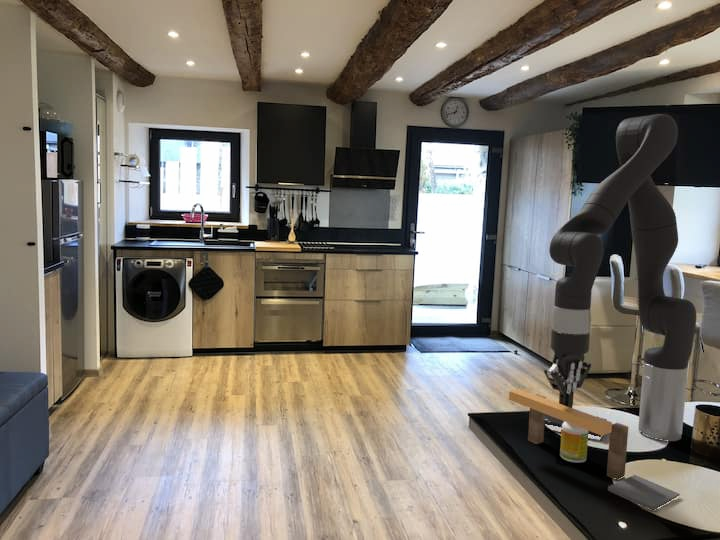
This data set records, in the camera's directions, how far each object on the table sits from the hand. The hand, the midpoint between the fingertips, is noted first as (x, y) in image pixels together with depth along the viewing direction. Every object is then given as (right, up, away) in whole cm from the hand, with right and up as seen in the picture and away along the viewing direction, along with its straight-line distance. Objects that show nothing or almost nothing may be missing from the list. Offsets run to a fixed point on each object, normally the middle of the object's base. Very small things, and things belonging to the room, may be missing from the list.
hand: (565, 408), depth 122 cm
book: (+11, -13, -12) cm, 21 cm away
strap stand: (+3, -11, +3) cm, 12 cm away
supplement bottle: (+3, -12, +3) cm, 12 cm away
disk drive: (+9, -10, +21) cm, 25 cm away
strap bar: (-2, -1, -2) cm, 3 cm away
